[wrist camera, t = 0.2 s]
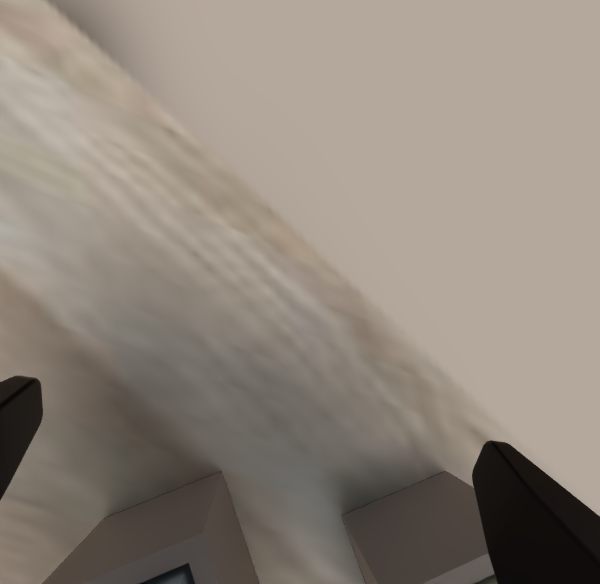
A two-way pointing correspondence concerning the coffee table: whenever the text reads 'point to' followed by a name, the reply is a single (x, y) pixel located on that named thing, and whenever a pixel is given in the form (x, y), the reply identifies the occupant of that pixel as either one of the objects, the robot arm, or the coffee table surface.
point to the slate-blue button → (174, 576)
